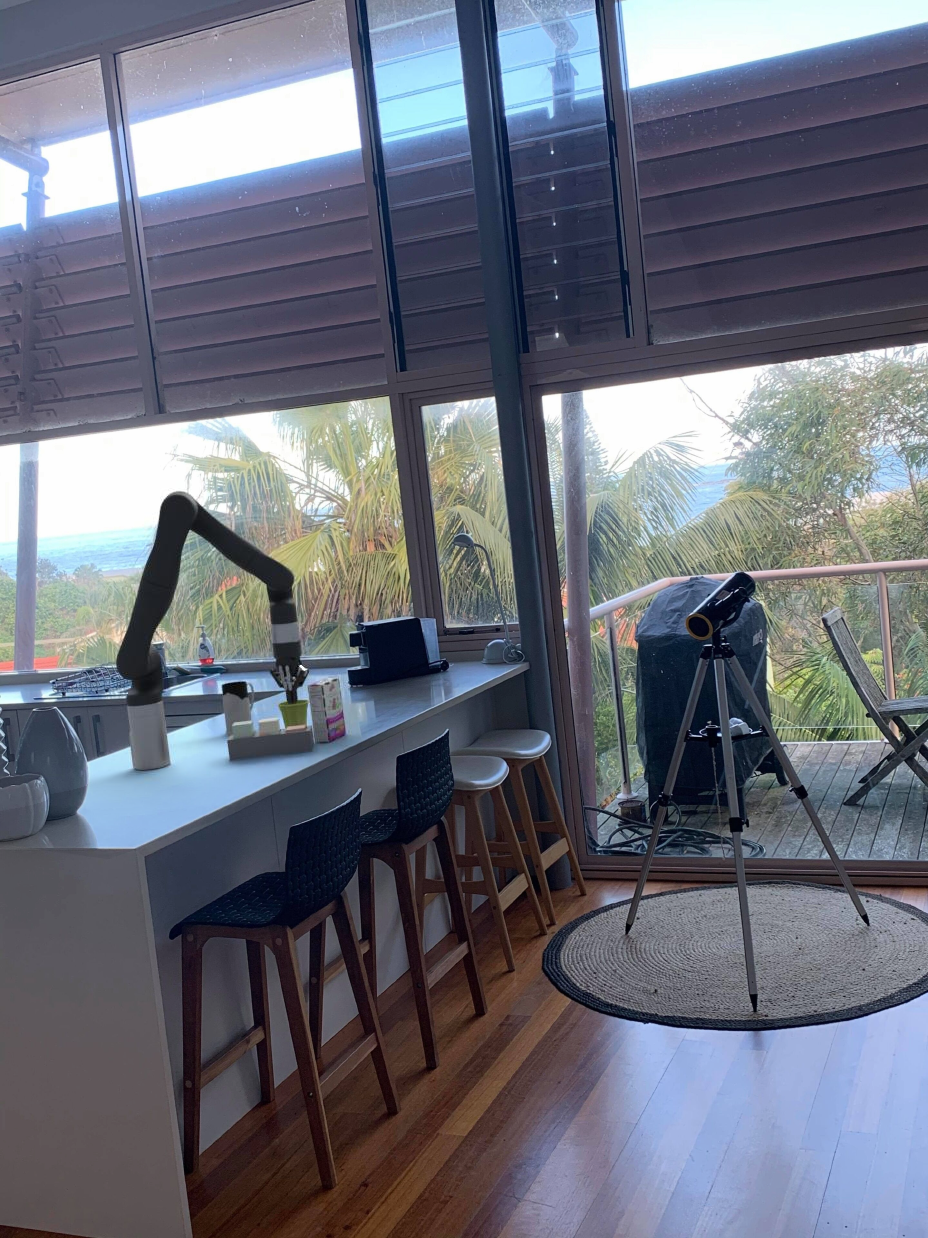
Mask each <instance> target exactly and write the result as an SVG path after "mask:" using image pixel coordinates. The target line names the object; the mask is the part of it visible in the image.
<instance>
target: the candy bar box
mask: <svg viewBox="0 0 928 1238" xmlns="http://www.w3.org/2000/svg"><path fill="white" fill-rule="evenodd" d="M307 692H308V699H309V708H310V714H311V715H310V716H311V720H312V721H311V723H312V731H313V739H314V744H321V743H322V744H324V743H325V744H326V743H332V742H334V741H335V740H337V739H339V738H341V737H343V736H345V735H346V734H347V730H346V722H345V717H344V716H345V715H344V708H343V707H344V706H343V700H342V692H341V686H340V678H339V677H329V678H328V677H326V678H324V679H323V678H322V679H321V680H317V681H315V682H313V683H311V684H309V685H307Z"/></svg>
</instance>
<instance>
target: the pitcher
mask: <svg viewBox="0 0 928 1238" xmlns="http://www.w3.org/2000/svg"><path fill="white" fill-rule="evenodd" d="M248 685H249V686H250V690H251V702H250V697H249V691H248ZM221 692H222V703H223V714H224V720H225V728H226V729H225V730H226V731H225V734H224V735H226V736H230V735H233V731H232V725H233V724H234V723H235V722H243V721H252V720H253V719H252V710H253V707H254V701H255V692H254V686H253V684H252V683H251V682H247V681H243V680H242V681H230V682H228V683H227V682H225V683H222V684H221Z"/></svg>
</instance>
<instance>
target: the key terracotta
mask: <svg viewBox="0 0 928 1238" xmlns="http://www.w3.org/2000/svg"><path fill="white" fill-rule="evenodd" d="M305 730H306V725H299V726H290V727H287V729H286V733H288V732H296V731H305Z"/></svg>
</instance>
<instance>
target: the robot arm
mask: <svg viewBox="0 0 928 1238" xmlns="http://www.w3.org/2000/svg"><path fill="white" fill-rule="evenodd" d="M158 515H159V516H158V522H157V529H156V533H155V534H156V535H155V538H154V542H153V545H152V547H151V551H150V552H149V555H148V557H147V560H146V563H145V565H144V568H143V571H142V574H141V577H140V581H139V586H138V588H137V594H136V598H135V602H134V604H133V607H132V611H131V614H130V619H129V622H128V626H127V629H126V632H125V634H124V636H123V639H122V641H121V644H120V647H119V648H118V652H117V655H116V658H115V666H116V669H117V670H116V671H117V673H118V674H119V676H121V678H122V679H124V680H127V681H131V686H130V689H129V691H128V693H127V694H126V697H125V700H126V701H125V702H126V708H127V715H128V716H127V717H128V722H129V731H130V732H129V733H128V739H129V747H130V755H131V761H132V763H131V764H132V768H133V769H135V770H139V771H144V770H155V769H159V768H160V769H161V768H163V767H164V768H165V767H167V766H169V765H170V764H171V756H170V748H169V747H170V746H169V740H168V733H167V725H166V718H165V711H164V709H165V708H164V703H163V702H164V701H163V692H164V673H163V672H164V671H163V663H162V658H161V653H160V651H159V650H158V649H157V647H156V646H155V645H154V644H152V642H153V638H154V635H155V632H156V630H157V629H158V627H159V626H160V624H161V622H162V621H163V620H164V617H165V616H166V614H167V613H168V611H169V609H170V608H171V605H172V603H173V600H174V597H175V594H176V591H177V586H178V583H179V579H180V573H181V565H182V564H181V563H182V562H181V561H182V555H183V549H184V546H185V543H186V540H187V538H188V535H189V533H190V532H193V533H195V534H197V536H200V538H202V539H204V540H205V541H207V542H208V544H210V545H211V546H213V548H215V549H216V550H217V551H218V552H219V553H220V554H222V556H223V557H225V558H226V559H227V560H228V561H230V562H231V563H233V565H236V566H237V567H239V568H240V569H241V570H243V571H245V572H246V573H248V574H250V575H253V576H254V577H255V578H256V579H258V580H259V581H260V582H262V583H263V584H264V585H265V587H266V591H267V597H268V602H269V617H270V618H269V619H270V625H271V626H270V628H271V629H270V637H271V645H272V655H273V658H274V659H275V666H274V667H273V669H270V670H269V674H270V676H271V677H272V678H273V680H274V681H275V683H276V684H277V686H278V687H279V688H281V689H283V690H284V691H285V696H286V697H285V698H286V701H287V702H288V704H295V703H297V701H298V700H299V699H298V689H299V688H302V687H303V685H304V684H305V681H306V679H307V678H308V675H309V673H310V669H309V668H305V667H304V666H303V662H302V660H301V657H302V644H301V635H300V634H301V633H300V627H299V623H298V613H297V608H296V607H297V606H296V603H295V601H294V593H293V586H294V583H295V577H294V576H295V575H294V573H293V571H292V570H291V569H290V568H289V567H287V566H286V565H284V564H282V562H280V561H278V560H276V559H275V558H273V557H271V556H269V555H268V554H267V553H265V551H263V550H262V549H261V548H260V547H258V546H257V545H255V544H253V543H252V542H251V541H249V540H248V539H246V538H245V537H243V536H242V535H240V534H238V533H237V532H235V531H234V530H232V529H231V528H230V527H229V526H227V525H225V524H224V523H222V522H221V521H220V520H218V519H217V518H216V517H215V516H214V515H212V514H211V513H210V512H209V511H208V510H207V509H205V507H204V506H203V505H202V504H200V503H199V502H198V501H197V499H195V498H194V496H193V495H191V494H190V493H188V492H187V491H182V490H177V491H173V492H171V493H169V494H167V496H166V497H165V498H164V499H163V500H162V502H161V504H160V508H159V514H158Z"/></svg>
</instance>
